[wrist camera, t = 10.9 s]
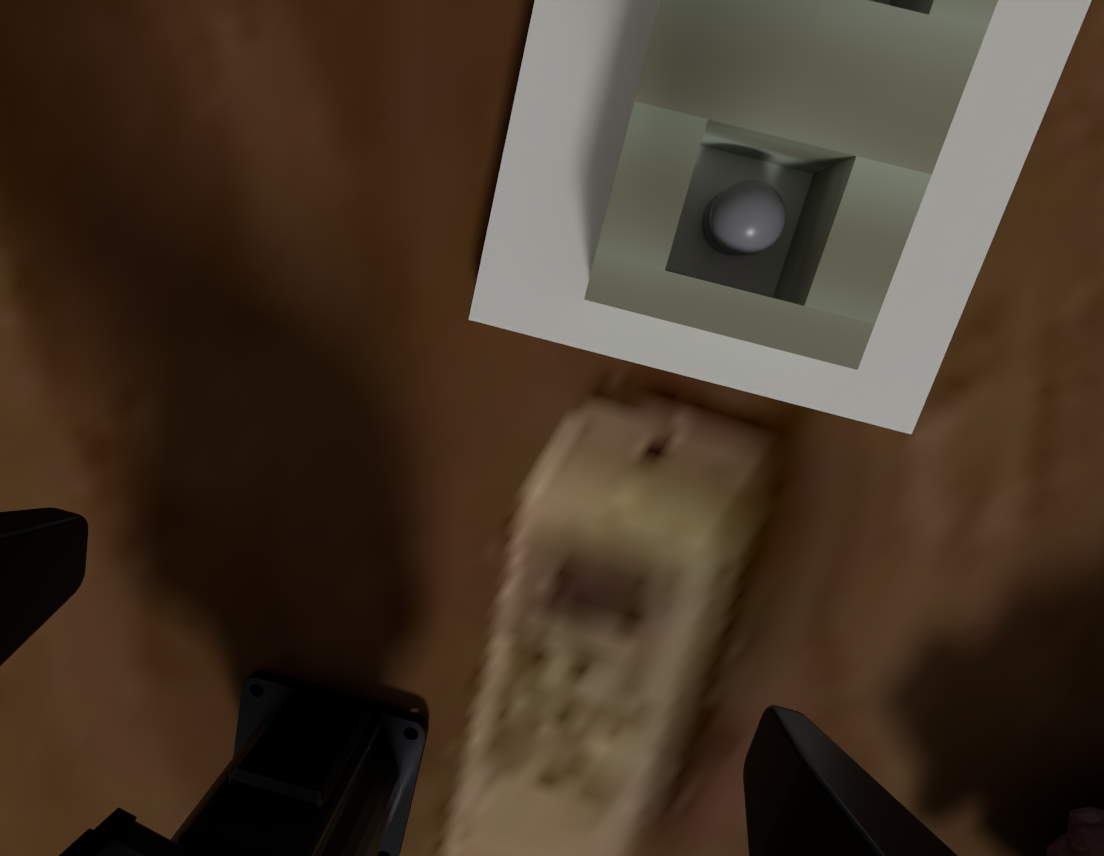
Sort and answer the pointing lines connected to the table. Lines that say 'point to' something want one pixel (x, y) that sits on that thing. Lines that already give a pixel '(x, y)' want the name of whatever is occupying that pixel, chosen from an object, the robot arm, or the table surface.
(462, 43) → the table surface
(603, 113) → the post board
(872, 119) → the bar
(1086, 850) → the pine cone
